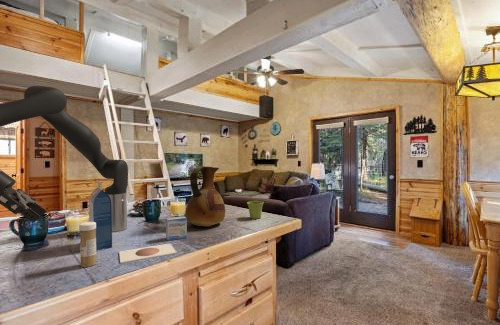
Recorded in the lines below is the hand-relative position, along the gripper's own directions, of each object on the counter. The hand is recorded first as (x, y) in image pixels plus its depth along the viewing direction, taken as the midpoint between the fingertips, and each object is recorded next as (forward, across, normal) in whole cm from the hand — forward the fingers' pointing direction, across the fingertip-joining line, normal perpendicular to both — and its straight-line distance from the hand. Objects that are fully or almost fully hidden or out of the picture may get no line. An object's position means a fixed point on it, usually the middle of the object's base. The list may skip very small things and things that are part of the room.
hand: (41, 216), depth 78 cm
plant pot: (+75, +29, -52) cm, 96 cm away
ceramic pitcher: (+55, +29, -31) cm, 69 cm away
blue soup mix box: (+22, +20, +2) cm, 30 cm away
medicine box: (+42, +14, -18) cm, 48 cm away
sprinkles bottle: (+20, 0, +4) cm, 21 cm away
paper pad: (+33, +2, -9) cm, 34 cm away
